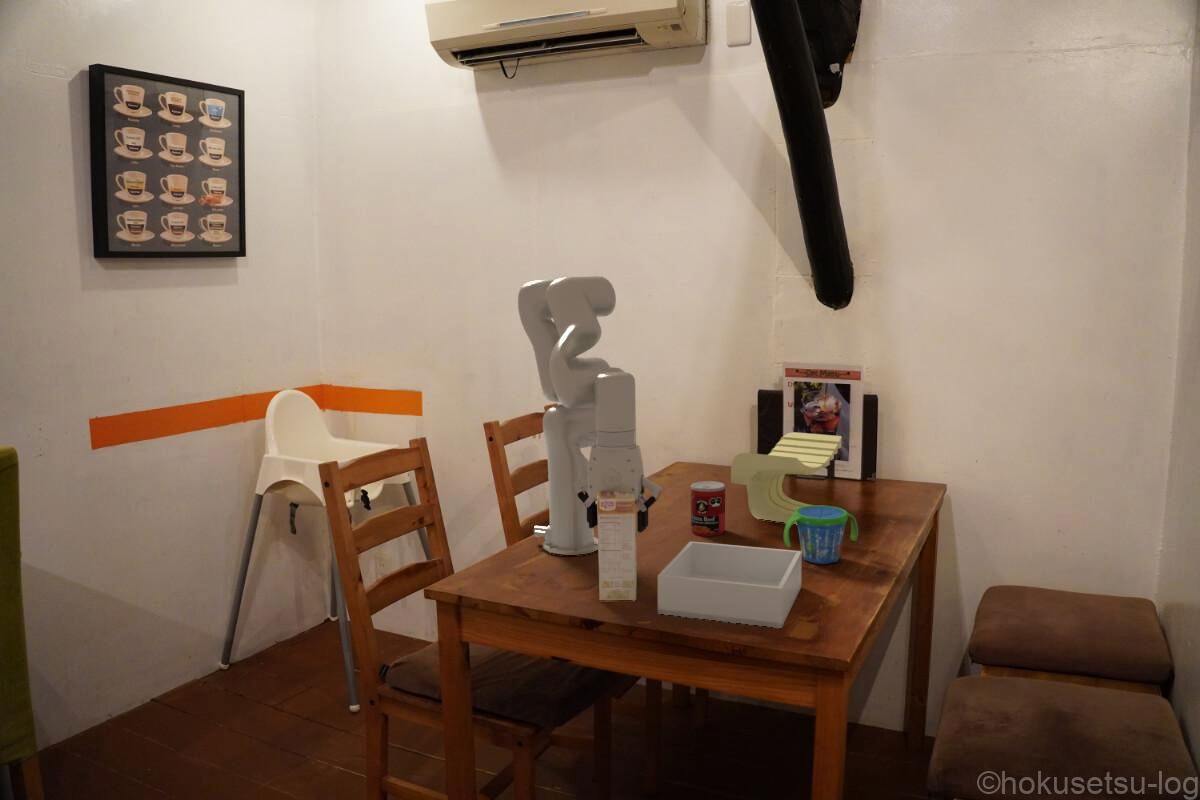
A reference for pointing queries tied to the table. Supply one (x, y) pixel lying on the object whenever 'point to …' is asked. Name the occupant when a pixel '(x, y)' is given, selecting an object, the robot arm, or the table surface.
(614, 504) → the coffeecake box
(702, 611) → the bin
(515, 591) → the table surface
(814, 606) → the table surface
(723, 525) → the canned food
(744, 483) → the slatted curved stool
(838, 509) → the snack cup
